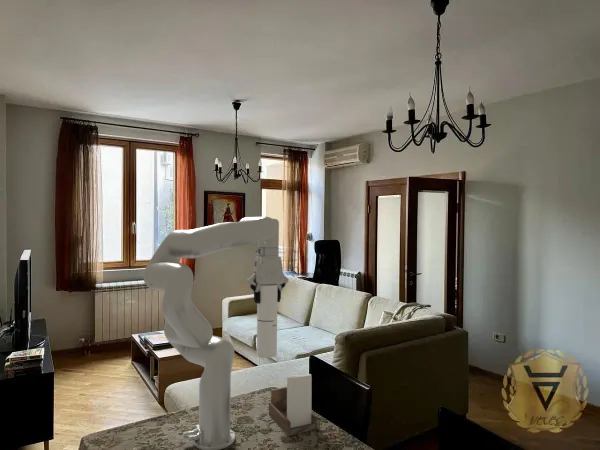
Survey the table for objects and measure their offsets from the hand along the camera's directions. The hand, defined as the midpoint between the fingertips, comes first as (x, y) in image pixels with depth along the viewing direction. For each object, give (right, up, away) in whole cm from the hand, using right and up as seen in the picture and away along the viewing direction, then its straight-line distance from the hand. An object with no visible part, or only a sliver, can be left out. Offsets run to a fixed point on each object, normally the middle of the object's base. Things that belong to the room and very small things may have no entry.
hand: (267, 301), depth 143 cm
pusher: (+11, -38, -12) cm, 42 cm away
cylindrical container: (0, -19, -1) cm, 19 cm away
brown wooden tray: (+9, -39, -7) cm, 41 cm away
